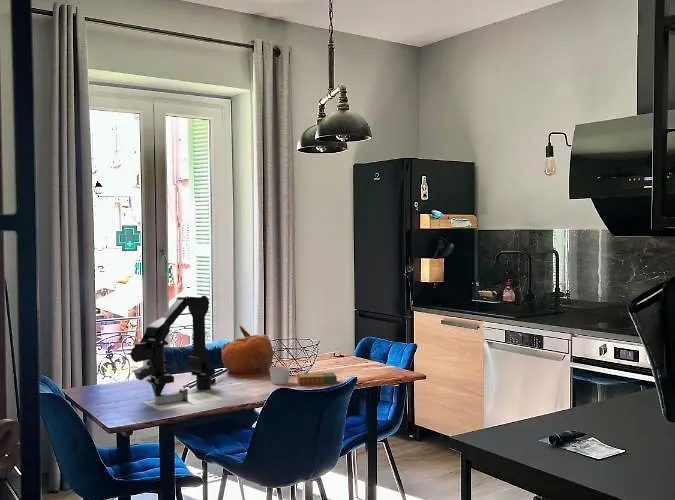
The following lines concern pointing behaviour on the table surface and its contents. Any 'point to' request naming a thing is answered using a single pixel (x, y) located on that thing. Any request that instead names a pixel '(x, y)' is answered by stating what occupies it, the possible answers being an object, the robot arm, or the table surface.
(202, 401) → the board
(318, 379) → the carton
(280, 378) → the candle
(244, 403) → the table surface
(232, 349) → the pumpkin
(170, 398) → the bar
